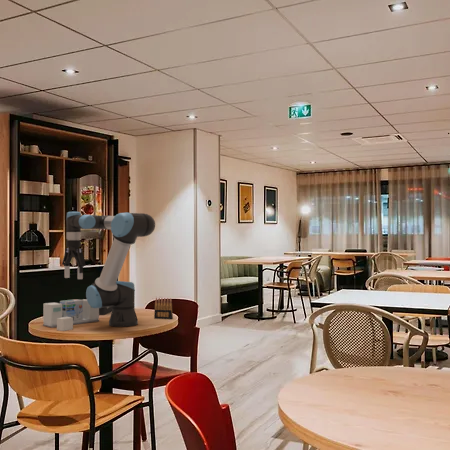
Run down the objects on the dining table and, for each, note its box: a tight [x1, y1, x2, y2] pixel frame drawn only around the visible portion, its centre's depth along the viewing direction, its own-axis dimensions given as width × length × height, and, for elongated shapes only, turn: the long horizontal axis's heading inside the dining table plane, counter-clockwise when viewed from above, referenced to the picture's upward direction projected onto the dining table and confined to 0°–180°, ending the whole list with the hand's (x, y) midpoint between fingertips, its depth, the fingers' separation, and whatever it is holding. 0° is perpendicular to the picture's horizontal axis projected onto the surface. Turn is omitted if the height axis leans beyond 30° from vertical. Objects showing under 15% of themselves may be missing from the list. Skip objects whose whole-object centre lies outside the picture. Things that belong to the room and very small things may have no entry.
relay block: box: [56, 317, 74, 332], centre depth 259 cm, size 5×6×6 cm
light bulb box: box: [59, 299, 84, 321], centre depth 279 cm, size 11×7×11 cm, turn 140°
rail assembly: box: [42, 298, 100, 329], centre depth 278 cm, size 10×28×12 cm, turn 135°
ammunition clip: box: [153, 297, 174, 320], centre depth 293 cm, size 11×2×12 cm, turn 74°
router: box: [91, 282, 112, 316], centre depth 316 cm, size 8×18×20 cm, turn 174°
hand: (73, 278), depth 282 cm, fingers open, 13 cm apart
